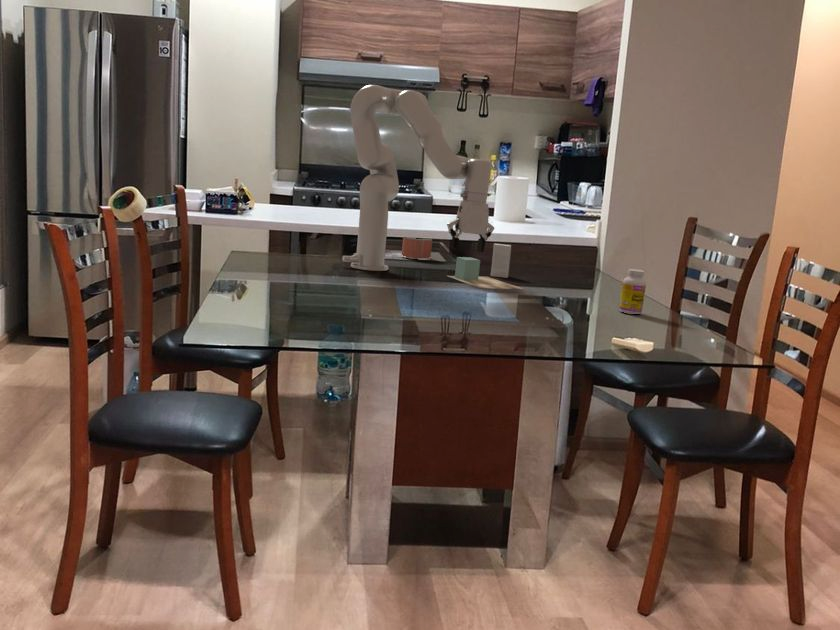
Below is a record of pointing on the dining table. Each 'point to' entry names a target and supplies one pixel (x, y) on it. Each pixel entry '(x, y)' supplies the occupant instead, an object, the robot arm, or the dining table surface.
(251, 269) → the dining table surface
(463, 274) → the sage green cube
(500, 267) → the skincare box
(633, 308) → the supplement bottle
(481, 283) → the board
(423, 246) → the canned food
